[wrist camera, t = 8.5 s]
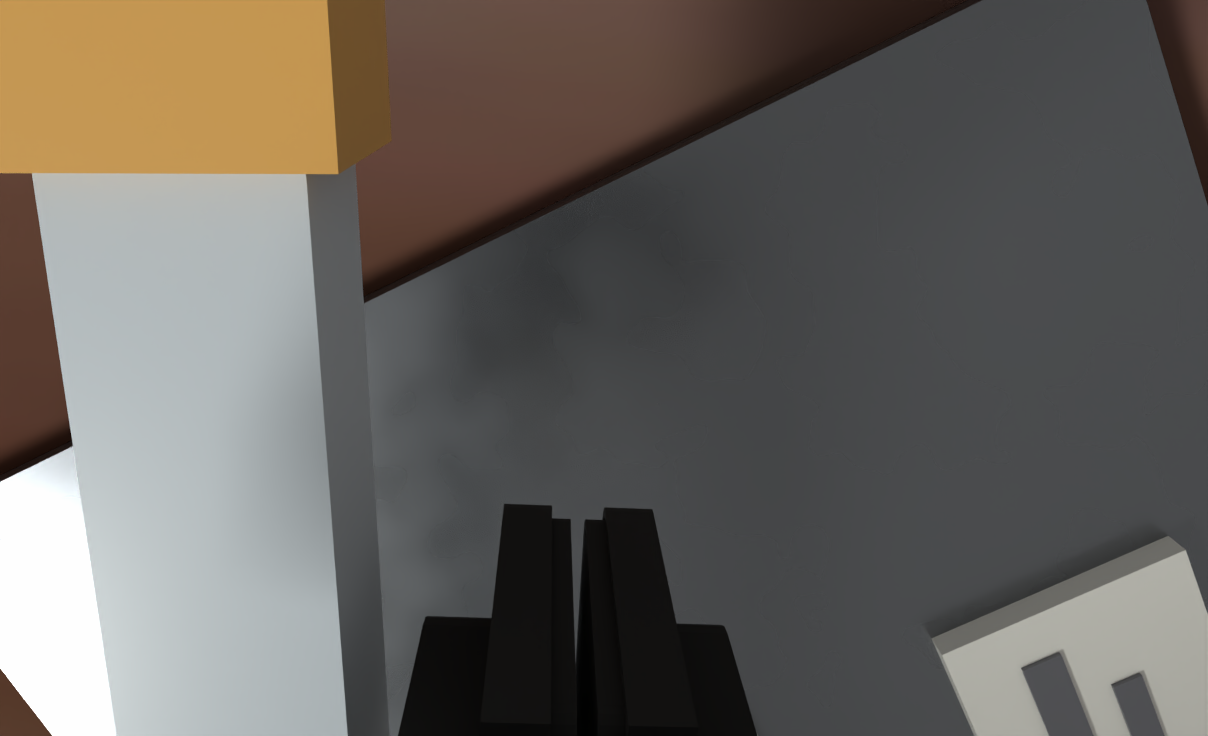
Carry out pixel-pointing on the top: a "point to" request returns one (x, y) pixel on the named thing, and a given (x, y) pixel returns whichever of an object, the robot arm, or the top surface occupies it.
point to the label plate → (1090, 654)
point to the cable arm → (214, 344)
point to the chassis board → (787, 376)
